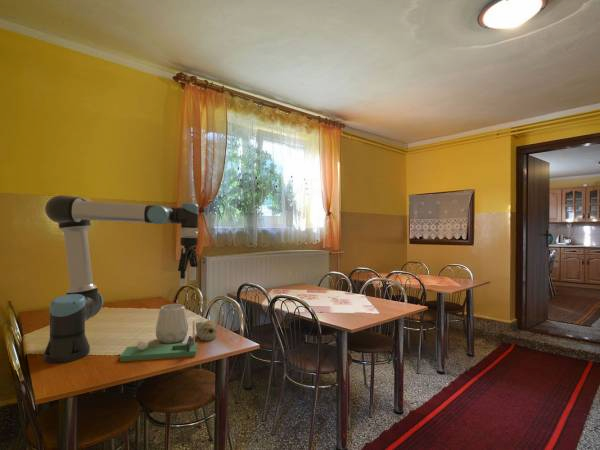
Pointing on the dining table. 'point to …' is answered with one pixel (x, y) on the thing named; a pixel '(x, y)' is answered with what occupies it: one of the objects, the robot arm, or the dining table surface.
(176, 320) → the vase
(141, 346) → the ball
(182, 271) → the robot arm
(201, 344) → the dining table surface
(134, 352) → the green
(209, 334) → the seashell
